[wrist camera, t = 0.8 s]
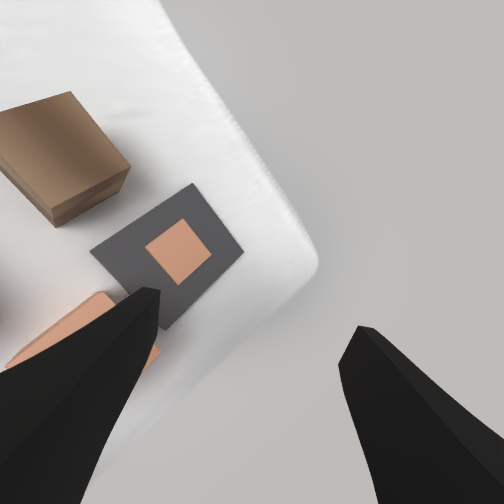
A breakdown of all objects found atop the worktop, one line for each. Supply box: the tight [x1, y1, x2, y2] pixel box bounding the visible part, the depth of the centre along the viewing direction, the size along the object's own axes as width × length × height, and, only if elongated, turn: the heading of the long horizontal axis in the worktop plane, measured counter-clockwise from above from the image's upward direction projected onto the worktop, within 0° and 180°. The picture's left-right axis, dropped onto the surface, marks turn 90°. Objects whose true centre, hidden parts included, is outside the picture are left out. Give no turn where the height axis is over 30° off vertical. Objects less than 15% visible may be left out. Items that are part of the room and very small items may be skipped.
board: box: [90, 183, 244, 330], centre depth 22 cm, size 10×8×1 cm
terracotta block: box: [5, 291, 162, 372], centre depth 16 cm, size 5×5×5 cm
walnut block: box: [0, 91, 131, 228], centre depth 16 cm, size 5×5×5 cm
